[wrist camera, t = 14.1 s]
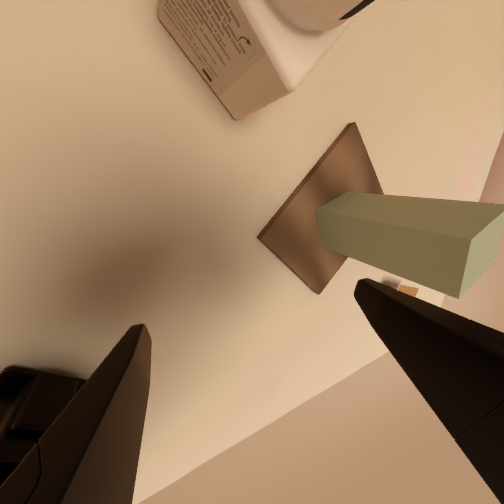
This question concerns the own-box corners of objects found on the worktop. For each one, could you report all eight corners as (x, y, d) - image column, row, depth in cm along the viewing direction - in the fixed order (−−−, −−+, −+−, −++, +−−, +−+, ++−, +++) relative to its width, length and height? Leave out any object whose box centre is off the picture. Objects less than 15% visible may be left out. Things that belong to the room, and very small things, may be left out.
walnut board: (314, 292, 29) (318, 295, 28) (257, 237, 22) (260, 239, 21) (382, 204, 30) (388, 204, 29) (348, 123, 23) (355, 121, 22)
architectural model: (378, 276, 37) (428, 296, 31) (396, 280, 40) (444, 299, 34) (370, 293, 37) (417, 317, 31) (389, 296, 41) (434, 317, 35)
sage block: (322, 246, 26) (458, 298, 15) (316, 209, 23) (471, 239, 13) (351, 228, 27) (493, 263, 16) (347, 191, 25) (510, 204, 14)
